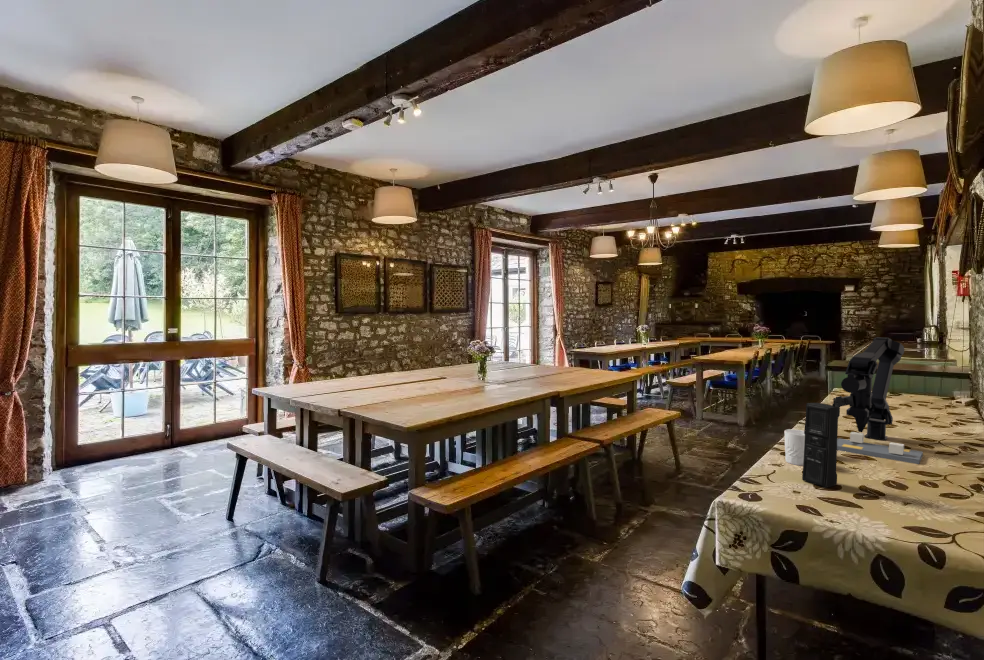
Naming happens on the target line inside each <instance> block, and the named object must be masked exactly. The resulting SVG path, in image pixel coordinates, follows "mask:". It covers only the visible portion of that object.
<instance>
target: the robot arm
mask: <svg viewBox="0 0 984 660" xmlns="http://www.w3.org/2000/svg"><path fill="white" fill-rule="evenodd" d="M904 353H905V347H904V345H903V344H902V343H900V342H898V341H895V340H892V339H891V338H889V337H880V336H879V337H878V336H877V337H874V338H873V340H872V342H871V343H870V344H869V346H868V347H867V348H866V349H865V350H864V351H863V352H860V353H856V354H855V355H853V356H852V357H851V358H850V359H849V361H848V364H847V367H846V370H845V375H847V377H844V378H843V379H842V381H841V382H840V383H841V384H840V385H841V388H842V390H843V391H844V392H846V393H849V395H845V396H842V395H839V396H836V397H834V398H835V404H836V406H838V407H840V408H841V407H846V406H849V407H848V408H847V409H846V411H845V413H846V414H845V415H846V416H851V417H852V418H854V419H855V424H856V429H857V431H858V432H857V433H863V432H864V430H865V428H866V434H864V438H866V439H867V438H868V439H874V440H879V441H880V440H881V441H886V440H887V439H888V438H889V437H888V436H887V435H886V431H887V430H886V429H887V426H888V425H891V426H892V425H893V420H894V417H893V415H892V413H891V410H890V405H889V403H888V402H887V396H888V391H889V387H890V383H891V379H892V374H893V370H894V366H895V365H896V364H897V363H899V362H900V361H901V359H902V356H903V355H904ZM877 360H878V362H877ZM874 375H875V377H874ZM873 377H874V382H873ZM866 426H867V427H866Z"/></svg>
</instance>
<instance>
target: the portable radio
mask: <svg viewBox="0 0 984 660" xmlns="http://www.w3.org/2000/svg"><path fill="white" fill-rule="evenodd" d="M835 398H836V397H833V398H832V400H833V402H832V404H826V403H820V402H810V403H809V402H807V403H806V404H805V421H804V430H803V431H804V434H805V443H804V462H803V466H802V474H801V475H802V476H801V477H802V479H801V480H802V481H804V482H807V483H810V484H813V485H816V486H819V487H822V488H825V489H826V488H830V487H835V486H836V485H837V484H838V473H837V461H838V458H837V457H838V456H837V455H838V450H837V439H838V436H839V435H838V430H839V428H838V427H839V417H840V415H841V414H840V413H841V407H838V406H836V404H835Z"/></svg>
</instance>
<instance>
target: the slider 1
mask: <svg viewBox="0 0 984 660" xmlns="http://www.w3.org/2000/svg"><path fill="white" fill-rule="evenodd" d="M864 436H865V434H864V433H863V432H855V431H851V432H850V433H849V440H850V441H851V442H857V443H863V442H865V441H864V439H865V437H864Z"/></svg>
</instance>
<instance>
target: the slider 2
mask: <svg viewBox="0 0 984 660" xmlns="http://www.w3.org/2000/svg"><path fill="white" fill-rule="evenodd" d="M888 446H889V453H893V454H899V455H903V454H904V449H905V444H903V443H897V442H893V441H892V442H889V444H888Z"/></svg>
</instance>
